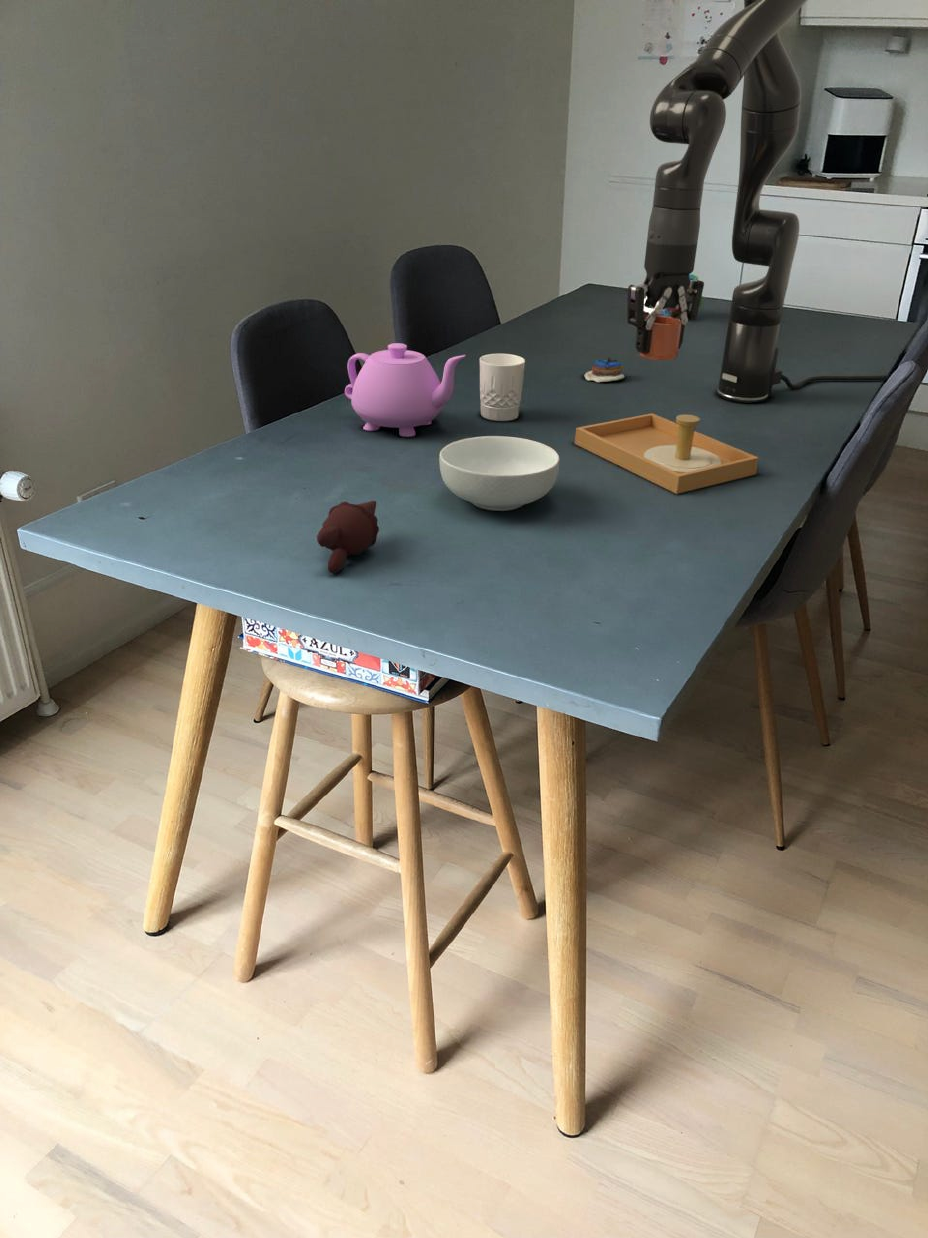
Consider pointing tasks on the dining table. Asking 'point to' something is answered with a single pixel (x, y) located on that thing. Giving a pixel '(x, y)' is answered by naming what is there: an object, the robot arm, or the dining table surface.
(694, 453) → the round base post stand
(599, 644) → the dining table surface
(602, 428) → the serving tray
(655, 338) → the terracotta cup
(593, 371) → the dessert
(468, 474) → the cereal bowl
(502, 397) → the white cup
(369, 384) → the teapot
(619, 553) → the dining table surface
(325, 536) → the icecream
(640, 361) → the dining table surface
